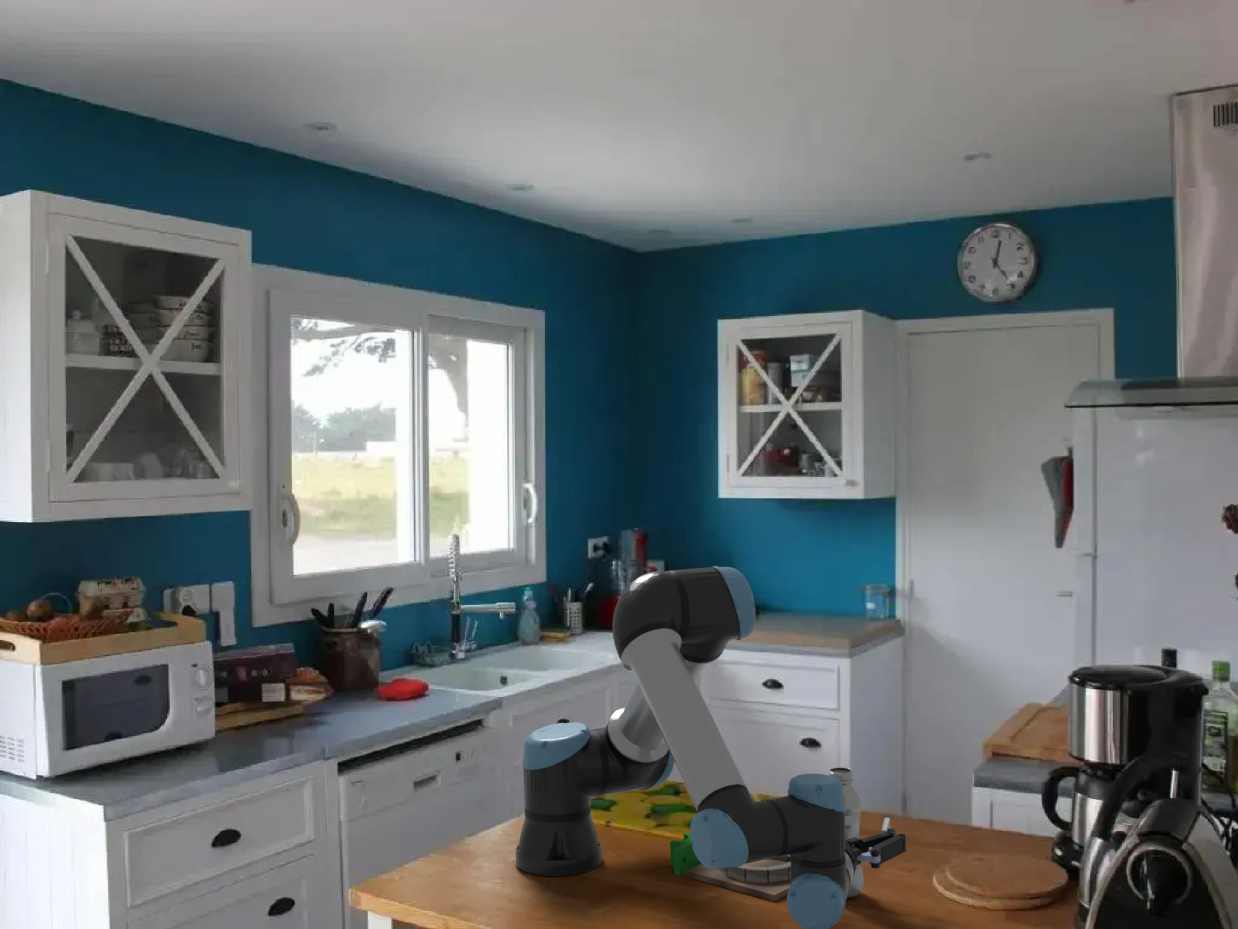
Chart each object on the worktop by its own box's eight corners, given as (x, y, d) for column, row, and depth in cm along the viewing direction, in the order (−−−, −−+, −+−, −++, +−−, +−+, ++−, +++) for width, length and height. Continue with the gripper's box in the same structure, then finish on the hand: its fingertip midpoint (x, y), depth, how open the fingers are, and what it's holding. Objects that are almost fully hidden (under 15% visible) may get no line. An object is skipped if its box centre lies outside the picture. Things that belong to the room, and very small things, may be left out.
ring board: (685, 876, 203) (685, 858, 203) (748, 848, 216) (748, 831, 216) (774, 901, 191) (774, 882, 191) (835, 870, 204) (835, 852, 204)
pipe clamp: (695, 854, 215) (694, 828, 215) (713, 857, 213) (713, 831, 213) (661, 872, 206) (660, 845, 206) (679, 876, 203) (679, 849, 203)
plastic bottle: (869, 891, 194) (867, 767, 194) (855, 905, 188) (852, 778, 188) (831, 885, 197) (829, 763, 197) (816, 898, 192) (813, 773, 191)
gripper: (743, 886, 178) (768, 841, 198) (917, 901, 171) (924, 852, 191) (742, 836, 178) (767, 795, 198) (916, 848, 171) (923, 805, 191)
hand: (844, 823), depth 195 cm, fingers open, 13 cm apart
